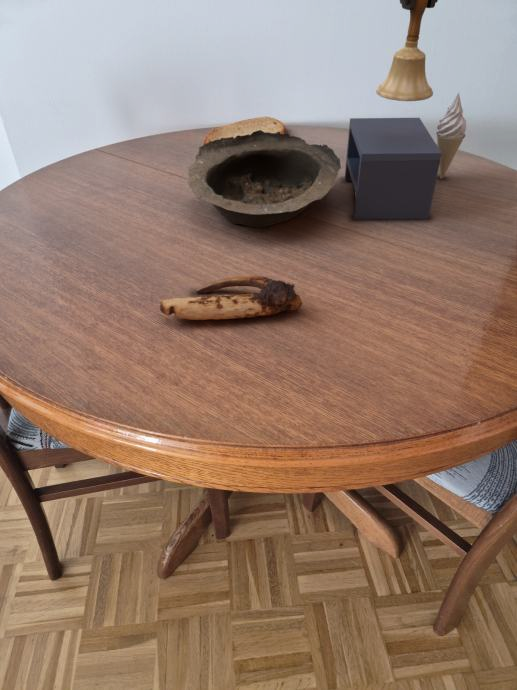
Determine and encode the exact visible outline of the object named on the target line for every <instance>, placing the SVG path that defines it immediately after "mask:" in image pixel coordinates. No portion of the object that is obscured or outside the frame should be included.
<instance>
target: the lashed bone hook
mask: <svg viewBox="0 0 517 690" xmlns="http://www.w3.org/2000/svg"><path fill="white" fill-rule="evenodd" d="M233 287H251V288H257V289H260V292H252V293H247V294H242V293H241V294H222V295H207V296H206V295H205V296H197V297H189V296H185V297H184V296H183V297H172V298H167V299H162V300H161V301H160V302H159V303H160V305H159V310H160V312H161V313H162V314H164V315H165V316H171V315H172V314H173V315H174V317H175V318H178V319H183V320H191V321H205V320H229V319H233V320H234V319H244V318H256V317H265V316H273V315H277V314H279V313H281V312H284V311H288V310H290V311H295V310H298V309H300V308H301V307H302V305H303V300H302V298H301V296H300V294H298V293H296V291H295V284H294V283H292V284H290V283H289V282H285V281H283V280H280V279H279V280H276V279H272V278H270V277H267V276H263V275H239V276H231V277H227V278H223V279H218V280H216V281H213V282H210V283H208V284H205V285H203V286H201V287H199V288H198V289H196V291H195V293H196V294H204V293H209V292H214V291H218V290H222V289H224V288H225V289H226V288H233Z"/></svg>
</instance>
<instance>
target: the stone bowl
mask: <svg viewBox="0 0 517 690" xmlns="http://www.w3.org/2000/svg"><path fill="white" fill-rule="evenodd" d="M341 169H342V166H341V160H340V158H339V157H338V156H337V155H336V154H335V151H334V150H333V149H332V148H331V147H329V146H328V145H327V144H313V143H312V144H309V143H307V141H306V140H305V139H302V138H301V137H299V136H295V135H289V134H288V133H287V132H286V134H280V132H277V133H269V132H266V133H265V132H263V131H261V130H259V131H255V132H253V133H252V134H251V135H249V134H248V135H244V136H239V135H238V136H236V137H235V138H234V137H228V138H221V139H220V140H214V141H210V142H208V143H207V144H205V145H202V146H200V147H198V154H196V155H195V161H194V162H193V163H190V164H189V165H188V172H187V176H188V178H187V179H188V180H187V185H188V187H189V189H191V192H192V193H193V194H194V195H195V197H196V198H197V199H199V200H201V201H203V202H205V201H206V202H208V203H211V204H212V205H213V207H214V208H215V209H216V211H217V212H218V214H220V215H221V216H223V217H224V218H225V219H226V221H228V222H229V223H230V224H232V225H242V226H247V227H252V228H266V227H268V226H270V225H274V224H279V223H283V222H287V221H289V220H291V219H292V218H294V217H296V216H297V215H299V214H301V213H302V212H303V211H304V210H306V209H307V208H308V207H309V206H310V204H312V202H314V201H318V200H322V199H323V198H324V197H325V196H326V195H327V194H328V193H329V192H330V191H331V189H332V188H333V187H334V186H335V184H336V179H337V178H338V175H339V173H338V172H339V171H340V170H341Z"/></svg>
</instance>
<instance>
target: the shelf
mask: <svg viewBox="0 0 517 690" xmlns="http://www.w3.org/2000/svg"><path fill="white" fill-rule="evenodd" d="M441 154H442V153H441V151H440V150H439V148H438V144H437V143H436V142H435V139H433V137H432V135H431V133H429V130H428V129H427V127H426V125H425V124H424V123H423V121H422V120H421V118H420V117H355V118H354V117H353V118H352V117H350V118H349V126H348V136H347V148H346V158H345V169H344V182H351V183H352V188H353V191H354V194H355V202H354V212H353V219H354V220H355V221H356V220H357V221H363V220H364V221H365V220H367V221H369V220H371V221H373V220H374V221H376V220H429V216H430V211H431V207H432V202H433V197H434V192H435V187H436V184H437V183H436V182H437V178H438V174H439V173H438V172H439V170H440V169H439V164H440V158H441Z"/></svg>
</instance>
